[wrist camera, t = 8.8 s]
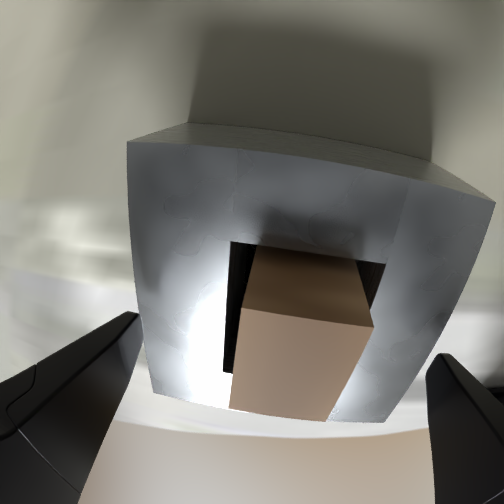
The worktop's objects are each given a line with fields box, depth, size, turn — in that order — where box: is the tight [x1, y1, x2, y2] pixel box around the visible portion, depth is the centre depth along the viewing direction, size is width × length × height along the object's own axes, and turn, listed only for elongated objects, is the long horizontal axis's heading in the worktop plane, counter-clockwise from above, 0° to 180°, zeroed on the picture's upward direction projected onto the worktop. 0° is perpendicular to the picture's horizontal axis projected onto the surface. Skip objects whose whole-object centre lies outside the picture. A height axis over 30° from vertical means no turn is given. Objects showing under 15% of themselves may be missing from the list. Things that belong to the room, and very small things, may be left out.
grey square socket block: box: [127, 123, 496, 423], centre depth 12 cm, size 10×10×5 cm
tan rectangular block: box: [228, 245, 374, 422], centre depth 11 cm, size 3×4×7 cm
